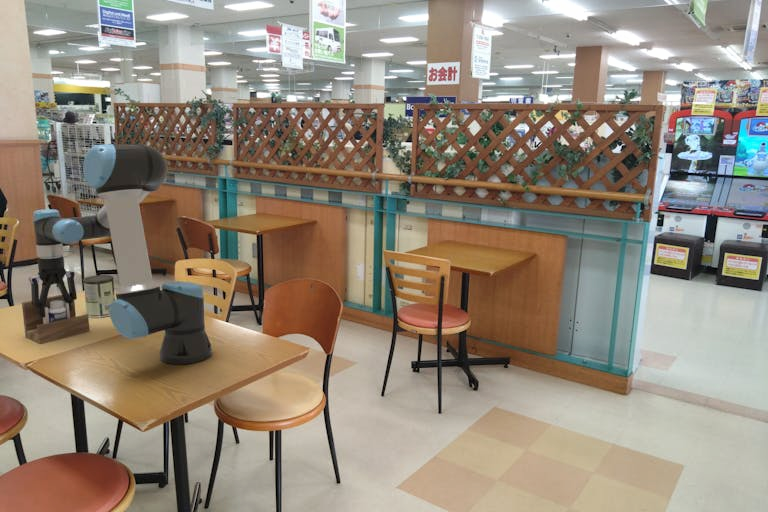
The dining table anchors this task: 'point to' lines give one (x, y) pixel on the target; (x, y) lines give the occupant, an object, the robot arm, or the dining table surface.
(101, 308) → the coffee can
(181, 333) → the robot arm
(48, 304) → the wooden display stand
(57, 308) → the pill bottle
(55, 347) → the dining table surface
